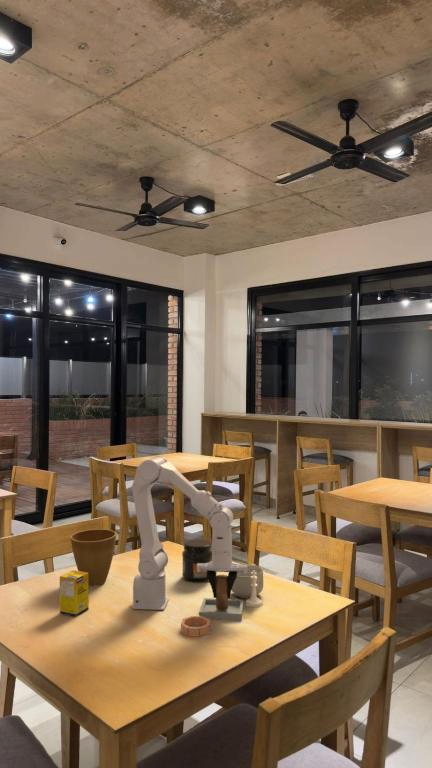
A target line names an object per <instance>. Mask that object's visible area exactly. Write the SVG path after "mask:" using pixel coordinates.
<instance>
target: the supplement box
mask: <svg viewBox="0 0 432 768" xmlns="http://www.w3.org/2000/svg"><path fill="white" fill-rule="evenodd" d="M89 596H90V595H89V586H88V573H86V572H80V571H78V570H74V569H73V570H72V569H71V570H69V571H68V572H66V573H64V574H62V575H60V576H59V614H61V615H65V616H70V617H78V616H80V615H81V614H83V613H85V612H87V611H88V610H89V603H90V602H89V600H90V599H89Z"/></svg>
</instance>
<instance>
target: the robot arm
mask: <svg viewBox="0 0 432 768" xmlns="http://www.w3.org/2000/svg"><path fill="white" fill-rule="evenodd" d="M135 469H136V472H135V476H134V478H133V481H132V485H131V490H132V496H133V501H134V502H133V503H134V507H135V512H136V513H135V514H136V519H137V525H138V530H139V531H138V532H139V538H140V543H141V546H140V549H139V553H138V555H139V556H138V557H139V561H138V566H137V567H138V568H137V569H138V572H139V573H138V574H135V575H134V577H133V584H132V605H133V606H132V609H133V610H154V611H164V610H165V609H166V606H168V605H167V604H168V603H169V600H170V599H169V598H168V597H166V571H165V568H166V567H167V566H168V563H169V562H168V561H169V556H168V554H167V552H166V551H165V549H164V544H163V543H162V542H161V541H160V540H159V534H158V527H157V521H156V516H155V508H154V504H153V498H152V493H151V492H152V490H151V489H152V488H153V486H154V485H155V484H156V482H160V483H169V484H171V485H172V486H174V487H175V488H176V489H178V490H179V491H180V492H182V493H183V494H184V495H185V496H186V497H187V498H189V499H190V503H191V504H190V505H191V506H192V507H193V508H194V509H195V510H196V511H197V512H199V514H201V515H202V516H204V518H205V519H206V520H208V521H209V525H210V528H212V535H211V536H212V537H211V550H212V563H198V564H197V572H201V571H205V572H207V575H206V576H207V579H208V581H207V582H209V585H210V587H211V591H212V594H213V595H212V596H213V599H216V576H217V573H228V574H227V576H228V599H231V595H232V587H233V584H234V582H235V579H236V577H237V573H243V574H247V565H248V564H242V563H240V564H239V563H235V562H234V563H232V562H233V555H232V554H233V535H232V532H233V531H232V523H233V521H234V513H233V511H232V509H230V507H228V506H226V505H225V506H224V504H223V503H222V502H219V501H217V500H216V499H215V498H214V497H213V496H211V495H212V493H211V492H210V491H209V490H208V491H206V490H203V489H202V490H199V489H197V488H196V487H195V485H193V484H192V483H191V482H190V481H189V480H188V479H187V478H186V477H185V476H184V475H183V474H182V473H181V472H180V471H179V470H178V469H177V468H176V466H174V464H173V463H172V462H170V461H168V460H167V459H166V458H165V457H164V456H161V455H157V456H156V455H155V456H153V457H152V458H150V459H146V460H145V459H144V461H142V462H141V463H140V464H139V465H138V467H136V468H135Z"/></svg>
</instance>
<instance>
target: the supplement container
mask: <svg viewBox="0 0 432 768" xmlns="http://www.w3.org/2000/svg"><path fill="white" fill-rule="evenodd" d="M181 556H182V574H181V575H182V578H183V579H184V581H185V580H186V581H187V582H190V583H203V582H209V581H208V579H207V576H206V575H207V572H205V571H201V572H197V564H198V563H212V541H210V540H207V539H203V538H193V539H188V540H186V541H184V542H183V550H182V554H181Z"/></svg>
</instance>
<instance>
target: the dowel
mask: <svg viewBox="0 0 432 768" xmlns="http://www.w3.org/2000/svg"><path fill="white" fill-rule="evenodd" d="M215 599H216V609H218V610H226V609H228V599H229V598H228V574H218V575H217V574H216V598H215Z"/></svg>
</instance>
